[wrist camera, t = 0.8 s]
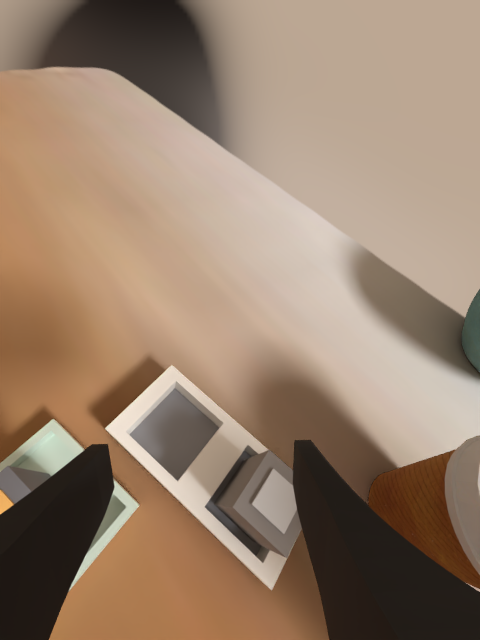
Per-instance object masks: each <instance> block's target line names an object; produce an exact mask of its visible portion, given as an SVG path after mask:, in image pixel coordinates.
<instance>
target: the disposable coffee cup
mask: <svg viewBox="0 0 480 640" xmlns="http://www.w3.org/2000/svg"><path fill="white" fill-rule="evenodd" d="M369 507H370V508H371V509H372V510H373V511H374V512H375V513H376V514H377V515H379V516H380V517H381V518H382V519H383V520H384V521H385V522H386V523H388V524H389V525H390V526H391V527H392V528H393V529H394V530H395V531H397V532H398V533H399V534H400V535H402V536H403V537H404V538H405V539H406V540H408V541H409V542H410V543H412V544H413V545H414V546H415V547H417V548H418V549H419V550H421V551H422V552H423V553H424V554H426V555H427V556H428V557H430V558H431V559H432V560H434V561H435V562H436V563H438V564H439V565H441V566H442V567H443V568H445V569H446V570H448V571H449V572H450V573H452V574H453V575H455V576H456V577H458V578H459V579H461V580H462V581H464V582H466V583H468V584H470V585H472V586H474V587H476V588H479V589H480V436H476V437H473V438H470V439H468V440H466V441H465V442H464V443H463V444H462V445H461V446H460V447H458V448H457V449H456V450H452V451H450V452H446V453H444V454H440V455H438V456H434V457H432V458H428V459H426V460H422V461H419V462H416V463H413V464H411V465H407V466H404V467H402V468H398V469H395V470H392V471H389V472H386V473H382V474H381V475H379V476H378V477H377V478H376V479H375V480H374V482H373V484H372V486H371V488H370V492H369Z"/></svg>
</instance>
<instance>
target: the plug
mask: <svg viewBox="0 0 480 640" xmlns="http://www.w3.org/2000/svg"><path fill="white" fill-rule="evenodd" d="M50 477H51V476H50V474H48V473H43V472H38V471H33V470H28V469H22V468H17V467H12V466H7V467H5V468H4V469H3V470H2V471H1V472H0V514H2V513H3V512H4V511H6V510H7V509H9V508H10V507H11V506H13V505H14V504H15V503H17V502H18V501H19V500H21V499H22V498H24V497H25V496H26V495H28V494H29V493H30V492H32V491H33V490H34V489H36V488H37V487H38V486H40V485H41V484H42V483H44V482H45V481H46V480H47V479H49V478H50Z"/></svg>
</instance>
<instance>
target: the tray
mask: <svg viewBox="0 0 480 640" xmlns="http://www.w3.org/2000/svg"><path fill="white" fill-rule="evenodd" d="M84 450H85V448H84V447H83V446H82V445H81V444H80V443H79V442H78V441H77V440H76V439H75V438H74V437H73V436H72V435H71V434H70V433H69V432H68V431H67V430H66V429H65V428H64V427H63V426H62V425H61V424H60V423H58V422H57V421H56V420H54V419H52V420H51V421H50V422H49V423H48V424H46V425H45V426H44V427H43V428H42V429H40V430H39V431H38V432H37V433H36V434H34V435H33V436H32V437H31V438H30V439H28V440H27V441H26V442H25V443H24V444H22V445H21V446H20V447H19V448H18V449H17V450H15V451H14V452H13V453H12V454H11V455H9V456H8V457H7V458H6V459H5V460H3V461H2V462H1V463H0V472H1V471H2V470H3V469H4V468H5V467H7V466H12V467H17V468H22V469H28V470H33V471H38V472H43V473H48V474H50V476H52V475H54V474H55V473H56V472H58V471H59V470H60V469H61V468H63V467H64V466H65V465H66V464H68V463H69V462H70V461H71V460H73V459H74V458H75V457H76V456H78V455H79V454H80V453H81V452H83V451H84ZM113 480H114V486H115V488H114V491H113V494H112V497H111V500H110V503H109V505H108V508H107V511H106V514H105V516H104V518H103V521H102V523H101V525H100V527H99V529H98V531H97V533H96V535H95V537H94V539H93V542H92V544H91V546H90V548H89V550H88V552H87V554H86V556H85V558H84V560H83V562H82V564H81V566H80V568H79V570H78V572H77V574H76V577H75V579H74V581H73V583H72V585H71V587H70V589H71V588H72V587H73V586H74V584H75V583H76V582H77V581H78V579H79V578H80V577H81V576H82V575H83V573H84V572H85V571H86V570H87V569H88V567H89V566H90V565H91V564H92V562H93V561H94V560H95V559H96V558H97V556H98V555H99V554H100V553H101V552H102V550H103V549H104V548H105V547H106V545H107V544H108V543H109V542H110V541H111V539H112V538H113V537H114V536H115V535H116V533H117V532H118V531H119V530H120V529H121V527H122V526H123V525H124V524H125V522H126V521H127V520H128V519H129V518H130V516H131V515H132V514H133V513H134V512H135V510H136V509H137V508H138V507H139V505H140V504H139V503H138V502H137V501H136V500H135V499H134V498H133V497H132V496H131V495H130V494H129V493H128V492H127V491H126V490H125V489H124V488H123V487H122V486H121V485H120V484H119V483H118V482H117V481H116V480H115V479H114V478H113ZM70 589H69V590H70ZM68 592H69V591H68Z"/></svg>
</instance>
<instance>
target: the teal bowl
mask: <svg viewBox="0 0 480 640" xmlns="http://www.w3.org/2000/svg"><path fill="white" fill-rule="evenodd" d="M462 346H463V349H464V352H465V354H466V356H467V358H468V359H469V361H470V362H471V364H472V365H473V366H474V367H475V368H476V369H477V370H478V371H479V372H480V289H479V291H478V292H477V294H476V296H475V297H474V299H473V301H472V303H471V305H470V307H469V309H468V312H467V315H466V318H465V322H464V326H463V330H462Z"/></svg>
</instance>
